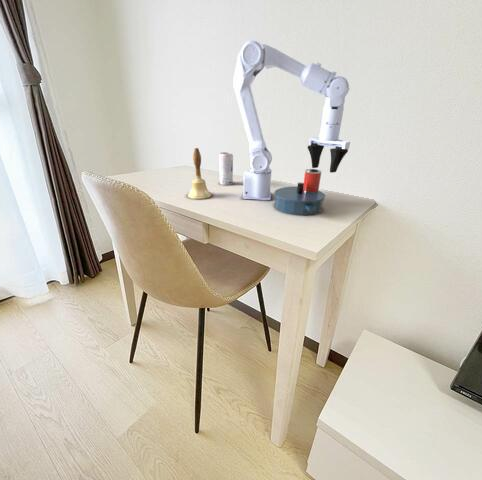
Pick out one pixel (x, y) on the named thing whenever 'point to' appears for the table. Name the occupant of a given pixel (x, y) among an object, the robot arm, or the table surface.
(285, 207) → the pot
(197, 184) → the hand bell
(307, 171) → the tin can
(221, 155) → the energy drink
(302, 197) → the lid
